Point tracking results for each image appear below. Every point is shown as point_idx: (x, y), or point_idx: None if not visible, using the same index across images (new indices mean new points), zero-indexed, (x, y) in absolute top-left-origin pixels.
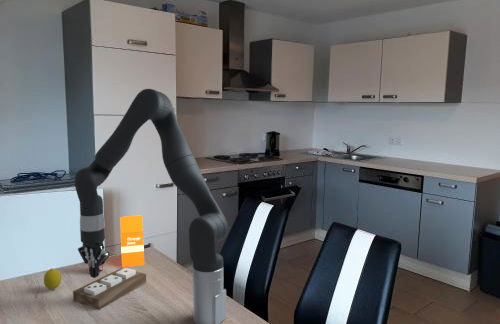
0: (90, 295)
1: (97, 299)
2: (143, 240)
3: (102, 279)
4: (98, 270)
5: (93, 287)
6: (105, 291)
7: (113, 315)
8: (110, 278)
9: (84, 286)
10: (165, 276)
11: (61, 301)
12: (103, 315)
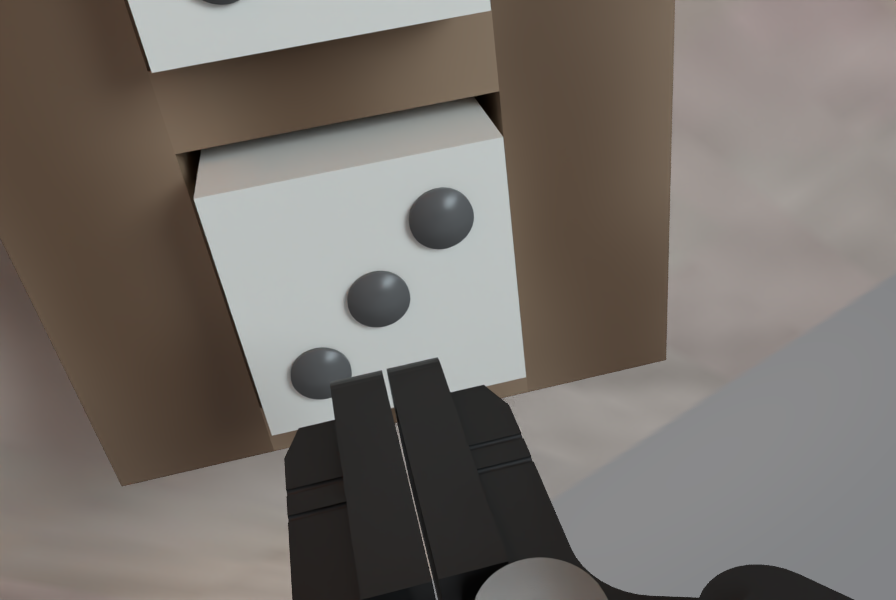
0: None
1: (642, 362)
2: None
3: (158, 24)
4: (542, 491)
5: (384, 330)
6: (547, 173)
7: (841, 236)
8: None
9: (67, 315)
10: None
11: (33, 475)
12: (741, 304)
